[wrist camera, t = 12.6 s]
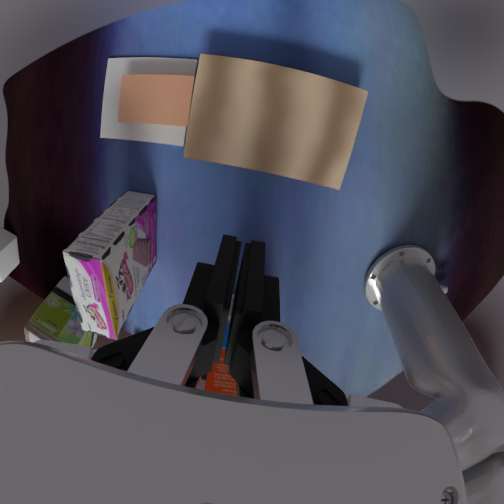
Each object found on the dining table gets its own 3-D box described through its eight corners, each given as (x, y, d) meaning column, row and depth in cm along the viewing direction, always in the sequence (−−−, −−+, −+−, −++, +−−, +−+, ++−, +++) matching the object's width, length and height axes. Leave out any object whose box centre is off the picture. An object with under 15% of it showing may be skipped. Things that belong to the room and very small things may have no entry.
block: (198, 76, 28) (194, 76, 27) (191, 124, 32) (187, 126, 30) (129, 74, 28) (122, 74, 26) (125, 120, 31) (117, 122, 30)
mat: (198, 60, 28) (197, 59, 27) (183, 146, 33) (183, 146, 33) (109, 58, 27) (108, 58, 27) (101, 137, 33) (100, 137, 32)
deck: (358, 90, 28) (368, 91, 25) (333, 180, 35) (339, 190, 32) (207, 57, 27) (200, 53, 24) (191, 150, 34) (183, 157, 31)
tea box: (63, 273, 46) (21, 327, 33) (106, 298, 48) (71, 359, 35) (60, 318, 53) (30, 367, 40) (97, 340, 55) (71, 392, 43)
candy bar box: (158, 261, 43) (117, 342, 29) (129, 255, 43) (81, 331, 29) (159, 192, 37) (101, 260, 23) (126, 188, 37) (58, 251, 23)
